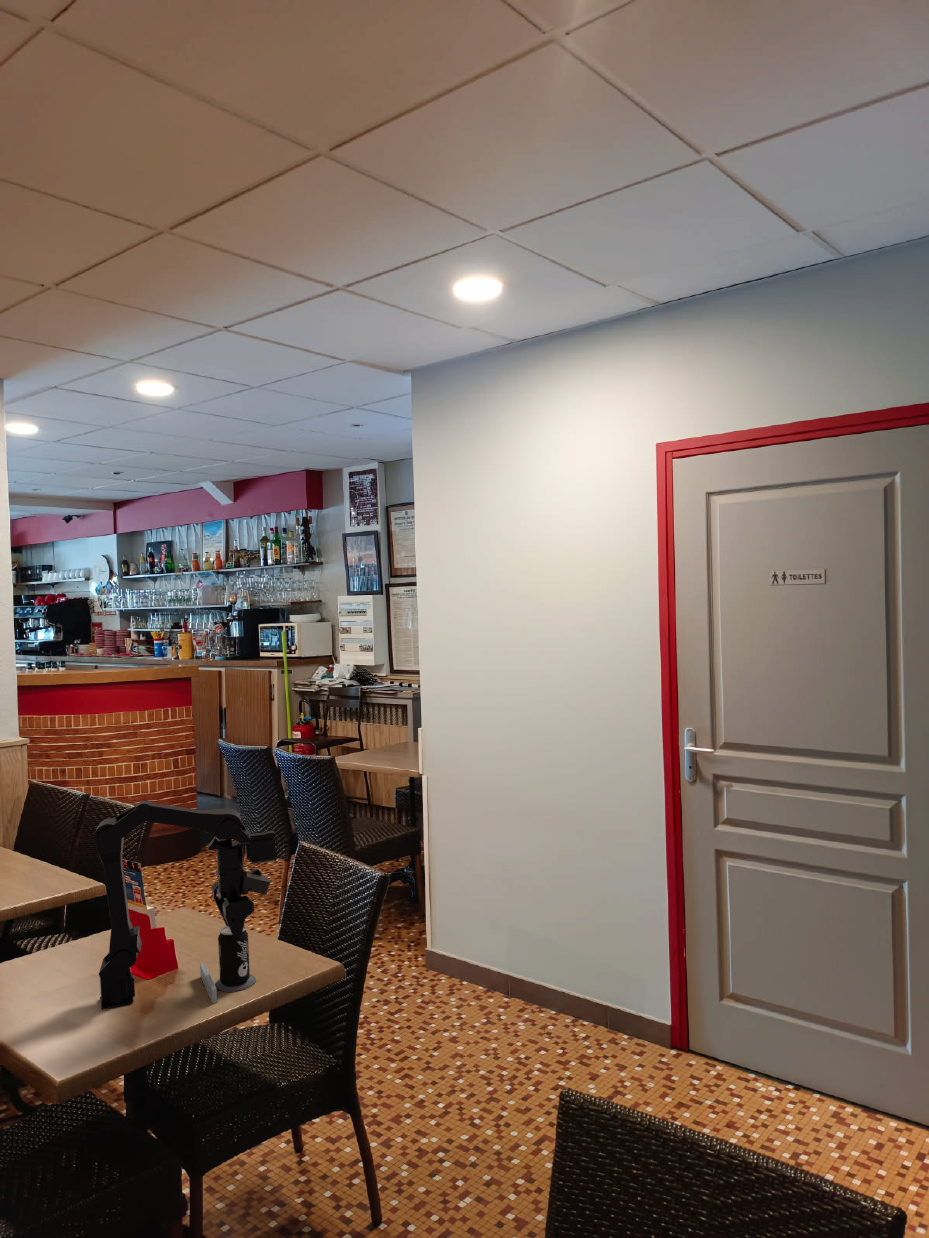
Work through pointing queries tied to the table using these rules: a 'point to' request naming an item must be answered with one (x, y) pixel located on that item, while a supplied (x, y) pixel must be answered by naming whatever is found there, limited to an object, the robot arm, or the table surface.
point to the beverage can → (233, 958)
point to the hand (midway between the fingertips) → (234, 934)
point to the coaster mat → (224, 988)
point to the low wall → (208, 983)
